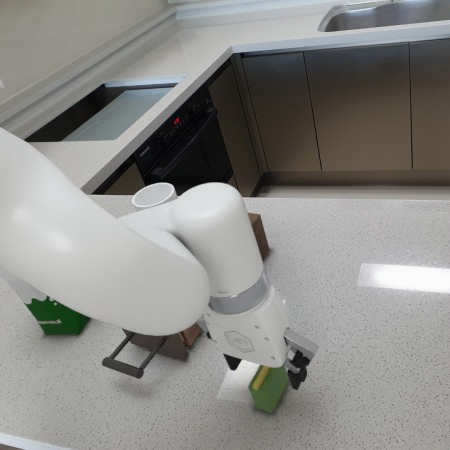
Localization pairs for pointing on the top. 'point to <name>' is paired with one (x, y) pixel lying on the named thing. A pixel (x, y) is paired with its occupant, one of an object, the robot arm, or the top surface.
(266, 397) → the green sponge
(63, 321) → the milk carton
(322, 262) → the top surface
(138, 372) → the drawer
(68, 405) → the top surface
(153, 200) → the mug
